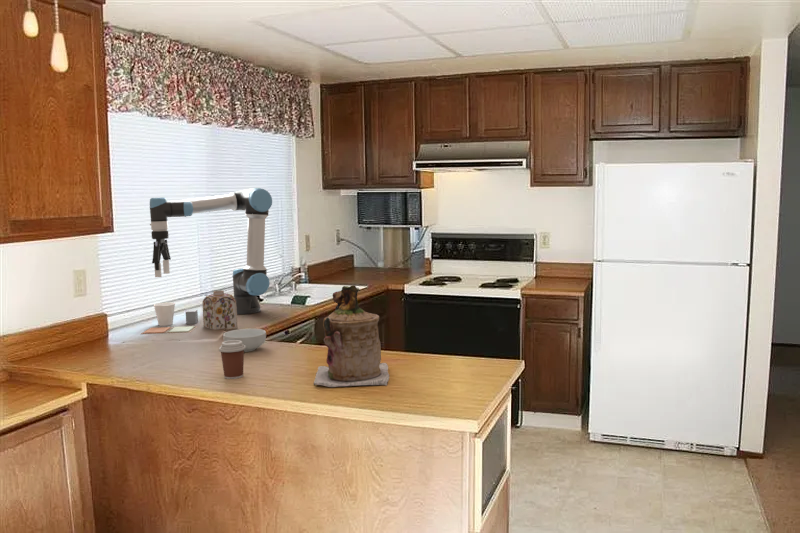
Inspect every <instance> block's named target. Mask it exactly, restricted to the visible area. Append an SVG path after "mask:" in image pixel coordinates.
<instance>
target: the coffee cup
mask: <svg viewBox="0 0 800 533" xmlns="http://www.w3.org/2000/svg"><path fill="white" fill-rule="evenodd" d="M245 349H246V346H245V345H244V344H243V343H242V341H240V340H230V341H225V342H224V341H222V342H221V344H220V347H218V352H220V354H221V361H222V362H221V363H222V369H223V377H224V379H227V380H236V379H241V378H243V377H244V362H245V361H244V360H245V359H244V358H245V352H244V350H245Z"/></svg>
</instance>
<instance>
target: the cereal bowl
mask: <svg viewBox="0 0 800 533" xmlns="http://www.w3.org/2000/svg"><path fill="white" fill-rule="evenodd" d="M222 337H223V342H225V341H230V340H240V341H242V343H243V344H244V345H245V346H246V349H245V350H244V353H247V352H248V353H249V352H253V351H255V350H256V349H257V348H259V347H261V346H262V345H263V344H264V343H265V342H266V339H267V332H266V330H265V329H261V328H249V327H248V328H237V329H232V330H227V331H226V332H225V331H224V333H223V336H222Z"/></svg>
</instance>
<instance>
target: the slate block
mask: <svg viewBox="0 0 800 533" xmlns="http://www.w3.org/2000/svg"><path fill="white" fill-rule="evenodd" d="M198 314H199V313H198V309H188V310H186V311H185V322H186V323H185V324H186V325H192V324H197V323H198V322H199V318H198V317H199V315H198Z"/></svg>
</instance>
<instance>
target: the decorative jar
mask: <svg viewBox="0 0 800 533" xmlns="http://www.w3.org/2000/svg"><path fill="white" fill-rule="evenodd" d="M202 317H203V318H202V320H203V327H204V328H207V329H210V330H214V331H217V330H221V329H222V330H223V329H224V330H223V331H224V332H225V330H227V331H232V330H237V329H238V314H237V308H236V300H235V299H234V295H233V294H231V293H225V291H224V290H222V289H218V290H214V291H213V294H208V295H206V296H205V297H204V299H203V300H202ZM231 329H232V330H231Z"/></svg>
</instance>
